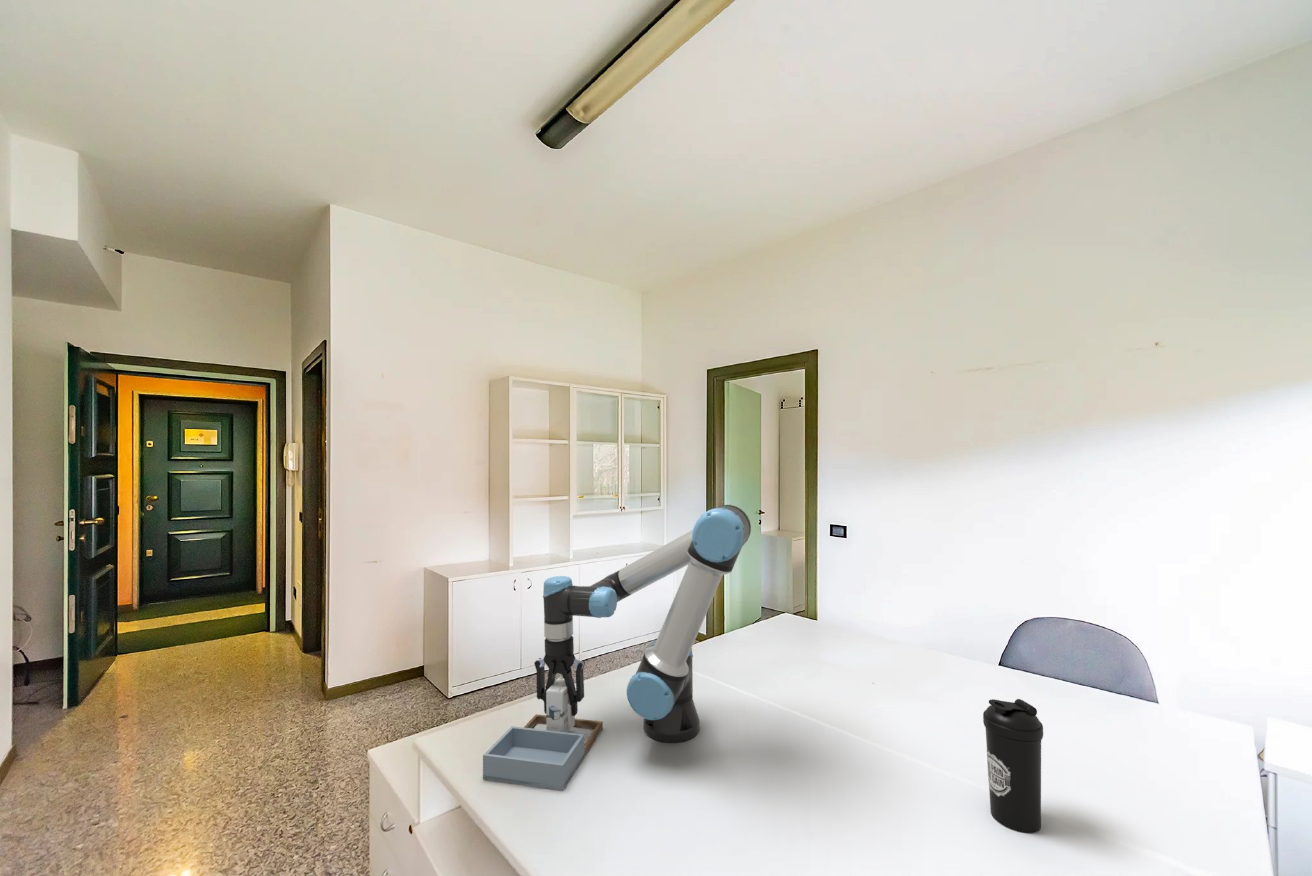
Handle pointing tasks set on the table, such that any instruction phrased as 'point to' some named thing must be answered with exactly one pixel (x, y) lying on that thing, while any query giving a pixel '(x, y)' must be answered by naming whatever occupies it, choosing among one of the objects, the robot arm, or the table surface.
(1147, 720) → the table surface
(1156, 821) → the table surface
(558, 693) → the ink box
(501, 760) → the grey bin
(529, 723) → the walnut frame
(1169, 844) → the table surface
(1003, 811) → the water bottle
